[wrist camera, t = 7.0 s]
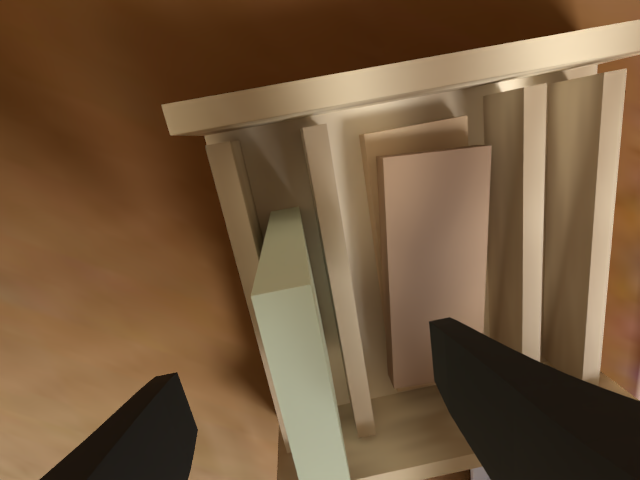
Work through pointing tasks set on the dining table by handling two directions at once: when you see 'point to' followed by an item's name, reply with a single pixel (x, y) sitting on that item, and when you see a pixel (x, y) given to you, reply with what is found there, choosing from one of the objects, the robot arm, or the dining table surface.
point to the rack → (503, 223)
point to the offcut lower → (398, 142)
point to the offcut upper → (431, 250)
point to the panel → (298, 349)
